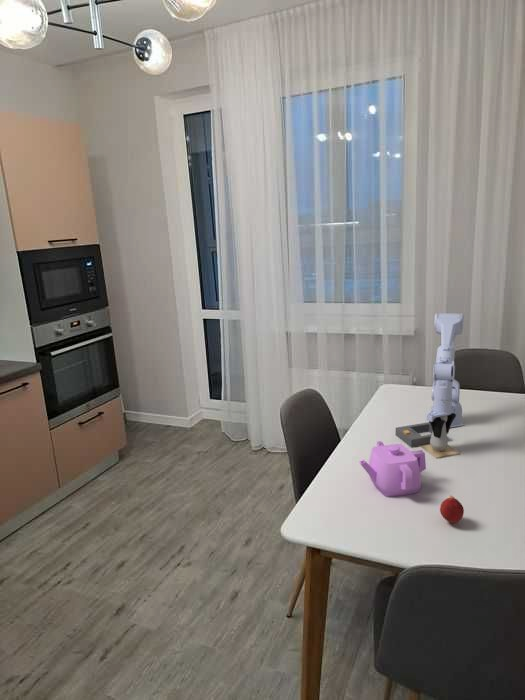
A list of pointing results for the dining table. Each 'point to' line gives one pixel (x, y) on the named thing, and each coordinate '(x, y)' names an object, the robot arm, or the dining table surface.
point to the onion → (451, 510)
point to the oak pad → (447, 451)
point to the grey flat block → (415, 434)
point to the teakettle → (395, 469)
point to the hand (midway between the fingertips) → (441, 434)
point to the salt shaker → (441, 442)
